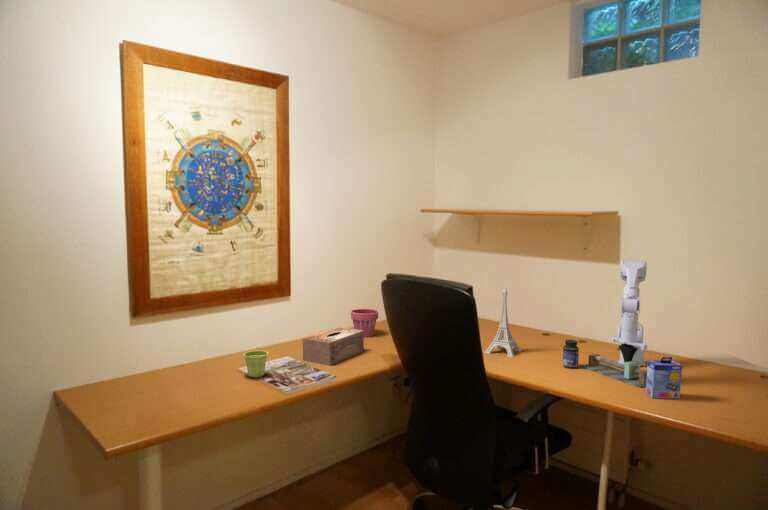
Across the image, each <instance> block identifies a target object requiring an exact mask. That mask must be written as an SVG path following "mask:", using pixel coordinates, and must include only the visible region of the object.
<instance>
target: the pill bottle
mask: <svg viewBox="0 0 768 510" xmlns="http://www.w3.org/2000/svg"><path fill="white" fill-rule="evenodd" d="M564 343H565V345H564V346H563V347H562V348H563V349H562V350H563V351H562V366H563V367H564V368H567V369H571V370H572V369H575V370H576V369H578V368H579V357H580V356H579V354H580V351H579V349H580V348H579V347H578V341H577V340H575V339H566V340H565V341H564Z"/></svg>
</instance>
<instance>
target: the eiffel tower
mask: <svg viewBox="0 0 768 510" xmlns="http://www.w3.org/2000/svg"><path fill="white" fill-rule="evenodd" d="M501 295H502V301H501V302H502V304H501V305H502V306H501V312H500V313H501V314H500V319H499V320H500V321H499V325H498V329H497V333H496V335H495V337H494V338H493V339H492V342H491V344H489V346H488V348H487V349H486V350H485V351H484V354H489V355H491V354H492V351H493V349H500V348H501V347H500V346H502V347H504V348H505V350H506V352H507V355H506V357H508V358H515V356H516V355H515V354H514V352H517V351H518V353H521V352H522V351H523V350H522V348H521V347H520V346H519V345H518V343H517V342H516V340H515V338H514V337H513V335H512V333H511V330H510V325H509V319H508V308H507V306H508V305H507V304H508V303H507V297H508V290H507V288H506V287H503V290H502V293H501ZM513 348H514V351H513ZM490 353H491V354H490Z"/></svg>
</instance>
